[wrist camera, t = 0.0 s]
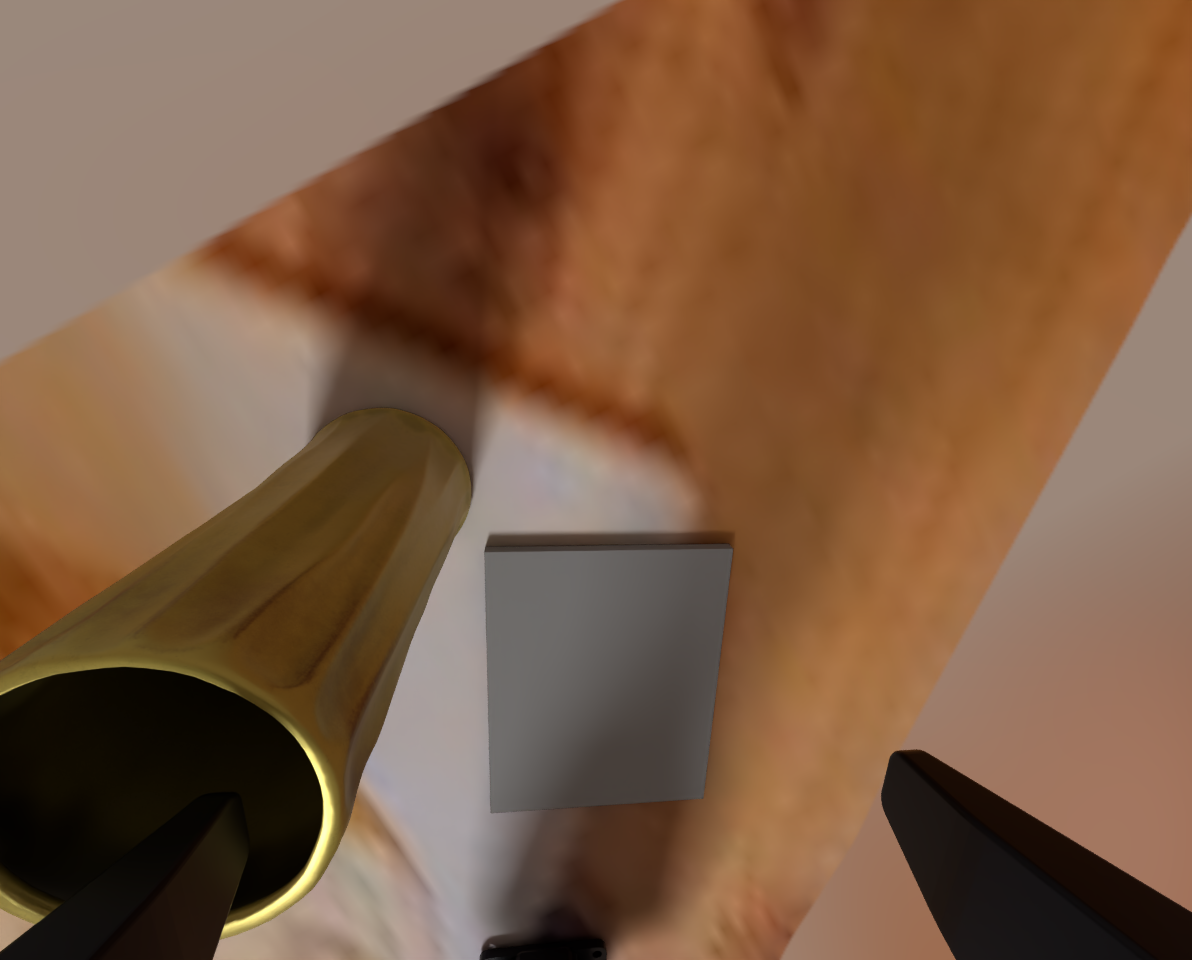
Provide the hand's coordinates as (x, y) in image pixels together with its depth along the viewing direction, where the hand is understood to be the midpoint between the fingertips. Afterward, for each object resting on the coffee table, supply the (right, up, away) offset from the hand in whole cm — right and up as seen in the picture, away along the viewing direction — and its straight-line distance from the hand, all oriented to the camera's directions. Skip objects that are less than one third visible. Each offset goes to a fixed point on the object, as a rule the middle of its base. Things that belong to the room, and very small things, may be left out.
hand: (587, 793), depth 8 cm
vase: (-8, +4, +14) cm, 16 cm away
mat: (0, -5, +17) cm, 18 cm away
